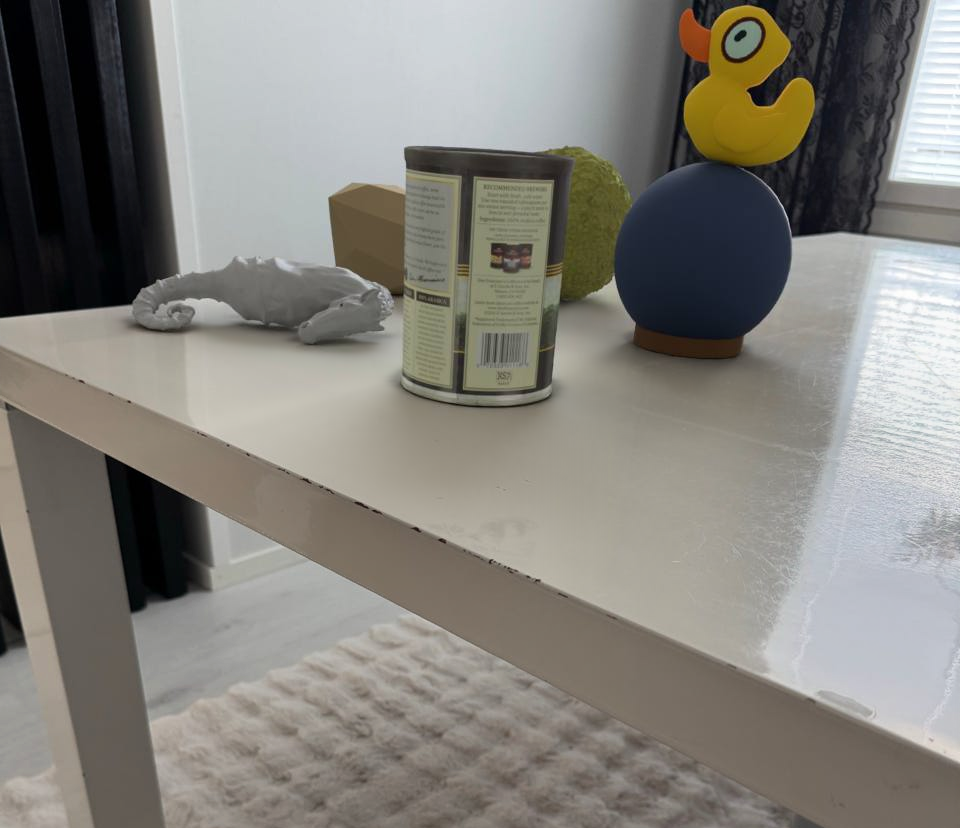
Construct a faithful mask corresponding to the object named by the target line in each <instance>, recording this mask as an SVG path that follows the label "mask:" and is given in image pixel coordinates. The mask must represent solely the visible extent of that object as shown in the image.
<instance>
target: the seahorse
mask: <svg viewBox="0 0 960 828" xmlns="http://www.w3.org/2000/svg"><path fill="white" fill-rule="evenodd" d="M187 299H193V300H198V301H201V300H202V299H203V300H204V299H210V300H214V301H216V302H218V303H224V304H226V305H228V306H229V307H230V308H231V309H232V310H233V311H234V312H235V313H236V314H238V315H239V316H240V317H241V318H242V319H243V320H245V321H247V322H249V321H257V322H261V323H263V325H264V326H269V325H270V324H275V325H277V326H283V327H286V328H287V329H292V328H296V327H298V331H297V332H298V338H299V340H300V341H301V342H302V343H304V344H309V345H313V344H315V343H316V342H317V341H320V340H327V339H335V338H344V337H350V336H352V335H357V334H366V333H368V332H372V333H375V332H382V331H384V330H385V326H383V325H382V324H380V323H381V322H383V321H385V320H386V319H387V318H388V317H391V316H392V314H393V309H394V308H395V300H394V299H393V296H392V294H390V292H389V291H388V289H387V288H385V287H384V286H381V285H380V284H378V283H376V282H370V281H369V280H365V279H363V278H361V277H360V276H358V275H357V274H355V273H353V272H352V271H350V270H348V269H345V268H340V267H336V265H334V266H331V265H330V266H329V265H324V264H319V263H315V262H309V261H304V260H288V259H282V258H281V257H278V256H273V257H272V258H268V259H267V258H266V259H265V258H262V257H261V256H260V255H255V256H254V257H250V258H247V257H241V256H239V255H235V256H234V257H233V258H232V260H231V261H230V263H228V265H226V266H225V267H223V268H220V269H212V270H210V271H206V272H196V271H194V270H193V271H191V272H190V273H186V274H179V273H176V274H174V275H173V276H170V277H167V278H166V277H165V278H164V279H161V280H160V279H156V281H155V283H153V284H151V285H149V286H146V287H142V288H140V291H139V293H138V294H137V295H136V298H135V299H133V301H132V310H131V314H132V316H133V317H134V319H135V321H137V323H138V324H140V325H141V326H143V327H146V328H147V329H149V330H160V331H162V332H165V331H166V330H170V329H175V330H179V329H180V328H181V327H183V326H188V325H190V324H191V323H192V320H193V318H194V316H195V315H196V310H195V308H194V307H193V306H191V305H185V303H183V302H185V301H186V300H187ZM172 300H173V301H177V300H180V301H182V302H178V303H176V304H172V305H169V306H168V307H167V309H166V315H167V317H168V318H165V317H158V316H157V314H156V313H157V311H158V310H159V309H160V305H162V304H163V305H164V306H167V305H168V303H169V302H170V301H172ZM175 313H179V314H178V315H177V317H176V316H173V315H174V314H175Z"/></svg>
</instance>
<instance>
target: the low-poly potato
mask: <svg viewBox="0 0 960 828" xmlns="http://www.w3.org/2000/svg"><path fill="white" fill-rule="evenodd" d="M405 194H406V189H404V188H402V187H400V186H398V185H396V184H383V183H366V182H351V183H349V184H347V185H346V186H344V187H343V188H341V189H339V190H338V191H337V192H334V193H333V194H332V195H329V196H328V197H327V200H328V211H329V222H330V224H329V225H330V231H331V238H332V239H331V240H332V247H333V255H334V264H335V266H336V267H340V268H345V269H348V270H350V271H352V272H353V273H355V274H357V275H358V276H360V277H361V278H363V279H365V280H369V281H370V282H376V283H378V284H380V285H381V286H384V287H385V288H387V289H388V291H389V292H390V294H391V295H404V253H405Z"/></svg>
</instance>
